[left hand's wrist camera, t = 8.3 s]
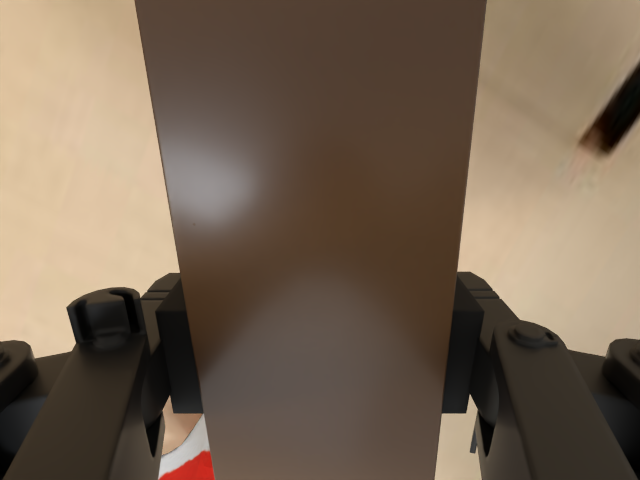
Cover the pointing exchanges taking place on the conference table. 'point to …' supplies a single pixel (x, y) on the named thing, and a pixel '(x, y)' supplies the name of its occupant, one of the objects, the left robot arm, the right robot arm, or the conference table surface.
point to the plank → (317, 221)
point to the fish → (189, 457)
